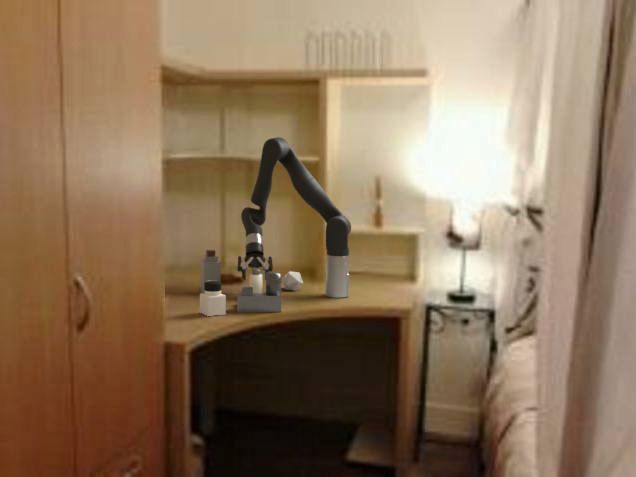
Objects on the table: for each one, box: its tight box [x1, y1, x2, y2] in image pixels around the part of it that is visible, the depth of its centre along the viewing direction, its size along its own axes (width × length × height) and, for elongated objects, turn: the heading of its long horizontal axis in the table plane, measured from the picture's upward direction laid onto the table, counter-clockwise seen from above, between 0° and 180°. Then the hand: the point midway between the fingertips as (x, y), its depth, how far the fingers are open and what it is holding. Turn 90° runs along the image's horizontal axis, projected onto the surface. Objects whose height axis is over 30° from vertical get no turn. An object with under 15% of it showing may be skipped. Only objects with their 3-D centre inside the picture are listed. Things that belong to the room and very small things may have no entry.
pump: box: [248, 268, 264, 293], centre depth 261 cm, size 5×5×12 cm
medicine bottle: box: [199, 280, 227, 317], centre depth 233 cm, size 7×7×12 cm
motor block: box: [236, 271, 283, 313], centre depth 244 cm, size 16×13×14 cm
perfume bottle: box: [200, 249, 222, 294], centre depth 268 cm, size 7×7×18 cm
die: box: [281, 270, 304, 292], centre depth 281 cm, size 8×9×10 cm
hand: (255, 278), depth 262 cm, fingers open, 8 cm apart
